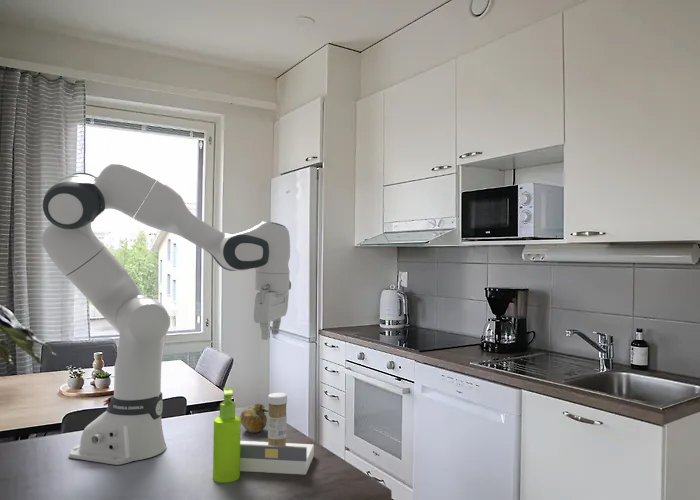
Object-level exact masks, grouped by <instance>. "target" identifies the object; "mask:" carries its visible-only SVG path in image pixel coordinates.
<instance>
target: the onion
mask: <svg viewBox="0 0 700 500" xmlns="http://www.w3.org/2000/svg"><path fill="white" fill-rule="evenodd" d="M266 413H269V406H267V407H266V406H265V405H264V404H263V403H256V404H254V405H253V406H250V407H248V408H246V409H243V411H242V412H241V413H240V416H239V417H240V418H241V426H242V427H243V428H244V429H245V430H246V431H247V432H249V433H254V434H257V433H259V432H261V431H263V430H265V428H266V425H267V422H268V418H267V415H266Z"/></svg>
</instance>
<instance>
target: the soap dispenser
mask: <svg viewBox="0 0 700 500" xmlns="http://www.w3.org/2000/svg"><path fill="white" fill-rule="evenodd" d="M222 390H223V401H222V402H220V403H219V416H217V417H215V418H214V419H213V447H212V448H213V449H212V450H213V451H212V452H213V453H212V454H213V455H212V459H213V460H212V462H213V463H212V465H213V466H212V480H213V481H214V482H216V483H220V484H224V483H225V484H226V483H227V484H228V483H233V482H235V481H237V480H239V479H240V476H241V475H240V474H241V471H240V441H241V429H242V427H241V426H242V424H241V418H240V416H238V415H236V402H235V401H233V400H232V399H233V396H234V390H233V387H223V388H222Z"/></svg>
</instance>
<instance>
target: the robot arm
mask: <svg viewBox="0 0 700 500" xmlns="http://www.w3.org/2000/svg"><path fill="white" fill-rule="evenodd" d="M108 209H109V210H110V209H111V210H117V211H118V212H121V213H123V214H124V215H126V216H129V217H130V218H131V219H133V220H135V221H137V222H140V223H141V224H143V225H146V226H148V227H150V228H153V229H157V230H160V231H163V232H167V233H170V234H173V235H177V236H179V237H181V238H184V239H185V240H188V242H191V243H192V244H194V245H196V246H197V247H199V248H201V249H203V250H205V251H206V252H207V253H209V254H210V255H211V257H212V258H213V259H214V261H215V262H216V263H217V265H218V266H219V267H220V268H222V269H224V270H226V271H230V272H236V271H238V272H245V271H248V270H250V269H255V284H254V285H255V286H254V290H255V291H257V292H256V295H255V298H254V307H253V308H254V309H253V321H254V323H256V324H259V328H260V332H261V340H263V341H264V340H265V341H267V340H269V339H270V337H271V335H279V334H280V326H281V323H282V318H283V317H285V316H286V315H287V312H288V305H289V295H290V292H289V291H290V290H291V289H292V282H291V280H290V274H291V273H290V269H289V267H290V266H289V263H290V258H291V238H290V232H289V229H288V228H287V227H286V226H285V225H283V224H281V223H277V222H274V221H273V222H272V221H261V222H260V223H258V224H257V225H255V226H254V227H251V228H248V229H246V230H244V231H241V232H238V233H226V232H222V231H220V230H219V229H216V228H215V227H213V226H211V225H210V224H208V223H207V222H205V221H203V219H200V218H199V217H197V216H196V215H194V214H193V213H192V212H191V211H190V209H188V207H187V205H186V203H185V201H184V199H183V197H182V196H181V195H180V194H179V193H178V192H177V191H175V190H174V189H173V188H172V187H170V186H169V185H168V184H167V183H164V182H163V181H162V180H160V179H158V178H156V177H155V176H152V175H151V174H149V173H147V172H145V171H143V170H141V169H138V168H136V167H133V166H131V165H128V164H125V163H123V162H113V163H111V164H109V165H107V166H105V168H103V170H102V171H101V172H100V174H99V175H98V176H96V175H94V174H91V173H88V172H75V173H73V174H70V175H68V176H65V177H63V178H61V179H59V180H58V181H57V182H56V183H54V185H52V186H51V187H50V188H49V189H48V190H47V191H46V192H45V194H44V197H43V200H42V211H43V213H44V216H45V217H46V220H48V221H49V223H51V224H50V225H48V226H47V228H45V229H44V231H43V232H42V235H41V238H40V241H41V244H42V245H41V246H42V247H43V249H44V251H45V252H46V254H47V255H48V256H49V258H50V259H51V261H53V263H54V265H55V266H56V267H57V268H58V269H59V271H60V272H62V274H63V275H64V276H65V277H66V278H67V279H68V280H69V281H70V282H71V283H72V285H74V286H75V287H76V288H77V290H79V292H80V293H81V294H82V295H83V296H85V298H86V299H87V300H88V301H89V303H90V304H92V306H93V307H95V308H94V309H96V310H97V311H98V312H99V314H101V316H102V317H103V318H104V319H105V320H106V321H107V323H109V325H111V326H112V327H113V328H112V329H114V330H115V331H116V332H117V333H119V340H118V347H117V354H116V360H115V363H114V370H113V371H114V378H113V379H114V380H113V395H112V396H110V397H108V398H107V399H106V400H104V401H103V407H104V406H107V408H106V411H104V412H103V413H101V414H100V415H99V416H97V418H95V419H94V420H93V421H91V422H90V423H89V424H87V426H85V428H84V429H83V431H82V434H81V438H80V442H79V444H77V445H75V446H74V447H73V448H72V449H71V450H70V452H69V458H70V459H76V460H82V461H83V460H84V461H90V462H96V463H100V464H101V463H102V464H108V465H116V466H119V465H124V464H127V463H130V462H133V461H140V460H146V459H149V458H152V457H155V456H158V455H160V454H161V453H163V452H164V451H166V449H167V443H166V441H165V436H164V430H163V425H162V414H163V408H164V407H163V393H162V391H161V390H162V387H161V386H162V363H163V361H162V360H163V355H164V349H165V345H166V338H167V333H168V330H169V328H170V324H171V323H170V322H171V320H170V316H169V313H168V311H167V309H166V308H165V306H164V305H163V304H161V303H160V302H159V301H158V300H155V299H151V298H149V297H148V296H147V295H146V294H144V292H143V291H142V290H141V288H140V287H139V286H138V284H136V282H135V281H134V279H133V278H132V276H131V275H130V274H129V272H128V270H127V269H126V268H125V266H123V265H122V263H120V262H119V260H118V259H117V258H116V257H115V255H114V254H112V252H111V251H110V250H109V249H108V248H107V247H106V245H104V244H103V243H102V241H101V240H100V239H99V238H98V237H97V235H95V233H94V232H93V230H92V222H94V221H95V220H96V218H97V217H98V216H99V215H101V214H102V213H103V212H104V211H105V210H108ZM271 322H272V326H271V325H270V324H271ZM270 326H271V332H270Z"/></svg>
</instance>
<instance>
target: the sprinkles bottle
mask: <svg viewBox="0 0 700 500" xmlns="http://www.w3.org/2000/svg"><path fill="white" fill-rule="evenodd" d="M287 402H288V395H287V393H285V392H273V393H269V394H268V397H267V403H268V407H269V412H268V415H267V417H268V418H267V422H268V424H267V442H268V445H276V446H286V443H287V420H288V419H287Z"/></svg>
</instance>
